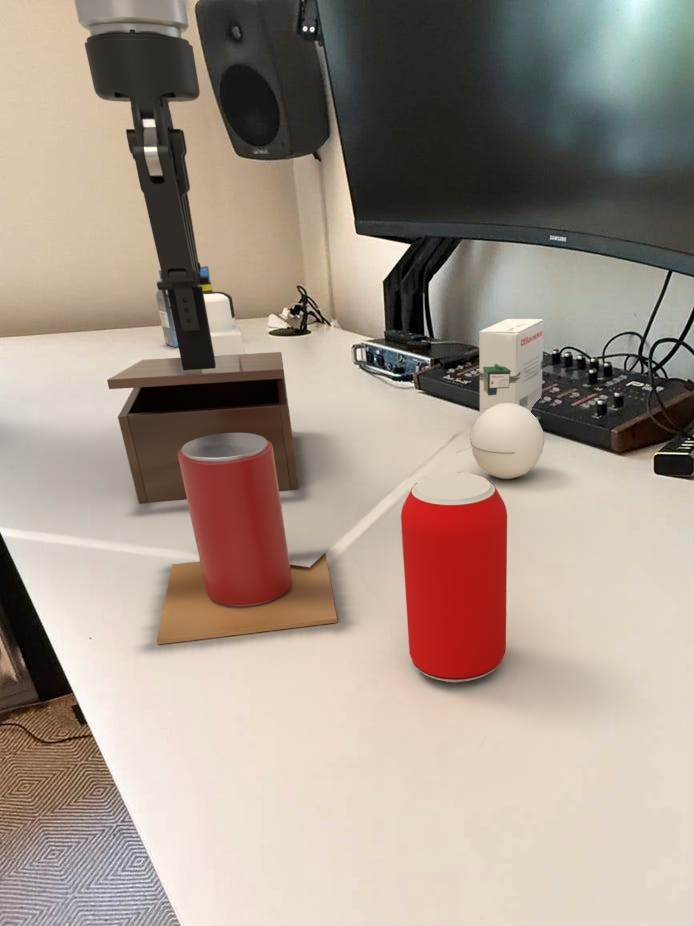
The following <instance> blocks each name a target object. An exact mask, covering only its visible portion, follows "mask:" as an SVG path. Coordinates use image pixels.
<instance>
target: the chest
mask: <svg viewBox="0 0 694 926" xmlns="http://www.w3.org/2000/svg"><path fill="white" fill-rule="evenodd" d="M283 369H285V368H284V367H283ZM284 377H285V375H284ZM290 415H291V413H290V407H289V400H288V392H287V384H286V378H284V379H268V380H252V381H235V382H219V383H203V384H187V385H171V386H155V387H139V388H132V390H131V392H130V393H129V395H128V397H127V399H126V401H125V403H124V405H123V407H122V408H121V410H120V412H119V414H118V416H117V420H118V423H119V429H120V432H121V436H122V440H123V445H124V447H125V448H124V449H125V452H126V456H127V461H128V464H129V465H128V466H129V470H130V474H131V477H132V481H133V487H134V489H135V494H136V498H137V502H138V504H139V505H142V504H152V503H163V502H175V501H187V497H186V492H185V487H184V482H183V477H182V473H181V468H180V463H179V458H178V452H179V451H180V449H182V447H183V446H184V445H185V444H186V443H188V442H190V441H192V440H194V439H197V438H200V437H204V436H209V435H214V434H222V433H249V434H255V435H259V436H262V437H264V438H265V439H266V440H268V441H269V442H271V444H272V446H273V453H274V460H275V466H276V473H277V480H278V487H279V492H287V491H298V490H300V485H299V476H298V468H297V460H296V453H295V446H294V437H293V431H292V430H293V429H292V421H291V416H290Z"/></svg>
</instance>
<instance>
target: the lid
mask: <svg viewBox="0 0 694 926" xmlns="http://www.w3.org/2000/svg"><path fill="white" fill-rule="evenodd" d="M214 357H215V363H216V367H215V368H213V369H197V370H183V367H182V362H181V357H167V358H150V359H148V358H147V359H142V360H139V361H138V362H136V363H134V364H132V365H131V366H128V367H127V368H126V369H124V370H122V371H120V372H119V373H117V374H115V375H113V376H112V377H109V378H108V379H107V380H106V381H107V386H108V389H109V390H119V389H122V390H123V389H133V388H139V387H155V386H171V385H187V384H203V383H219V382H235V381H252V380H268V379H284V378H285V377H284V376H285V370H284V369H285V368H284V362H283V354H282V352H281V351H274V352H258V353H257V352H256V353H245V354H237V355H219V356H214ZM283 368H284V369H283ZM285 379H286V378H285Z"/></svg>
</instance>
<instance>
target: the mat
mask: <svg viewBox="0 0 694 926" xmlns="http://www.w3.org/2000/svg"><path fill="white" fill-rule="evenodd" d="M290 570H291V577H292V584H291V586H290V588H289V589H288V590H287V591H286V592H285V593H284V594H283V595H282V596H280V597H279V598H277V599H275V600H273V601H270V602H267V603H264V604H261V605H256V606H249V607H232V606H226V605H223V604H220V603H218V602H216V601H214V600H212V599H211V598H210V597H209V596H208V595H207V592H206V588H205V583H204V578H203V573H202V568H201V564H200V561H192V562H181V563H173V564H171V569H170V574H169V579H168V583H167V587H166V594H165V598H164V603H163V607H162V612H161V616H160V622H159V627H158V632H157V635H156V643H157V645H165V644H173V643H181V642H189V641H197V640H205V639H213V638H214V639H215V638H221V637H222V638H223V637H229V636H238V635H239V636H240V635H245V634H246V635H247V634H255V633H262V632H272V631H279V630H288V629H295V628H302V627H312V626H313V627H314V626H321V625H328V624H337V623H338V617H337V611H336V605H335V599H334V593H333V587H332V582H331V577H330V571H329V565H328V560H327V553H326V552H324V553H323V554H322V555H321V556H320V557H319V558H317V560H316V561H314V563H312V564H311V565H310V566H303V565H296V564H290Z"/></svg>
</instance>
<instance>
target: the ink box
mask: <svg viewBox="0 0 694 926" xmlns="http://www.w3.org/2000/svg"><path fill="white" fill-rule="evenodd" d="M544 332H545V321H544V319H542V318H506V319H504V320H502V321H500V322H497V323H494V324H492V325H490V326H488V327H486V328H484V329H482V330H481V329H480V330H479V331H478V337H479V338H478V339H479V341H478V345H479V348H478V349H479V351H478V352H479V361H478V362H479V372H478V373H479V417H480V416H481V415H482V414H483V413H484V412H485V411H486V410H487V409H489V408H491V407H493V406H496V405H498V404H501V403H514V404H518V405H520V406H522V407H524V408H526V409H528V410H529V411H530V412H531V410H532V407H533V406H534V404H535V403H536V402H537V401H538V400H539V399H540V398H541V399H542V397H541V396H543V395H542V393H543V392H542V391H543V361H544V337H545V335H544V334H545V333H544ZM536 418H537V419H538V421H539V420H541V418H542V416H541V417H538V416H537V417H536Z"/></svg>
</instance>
